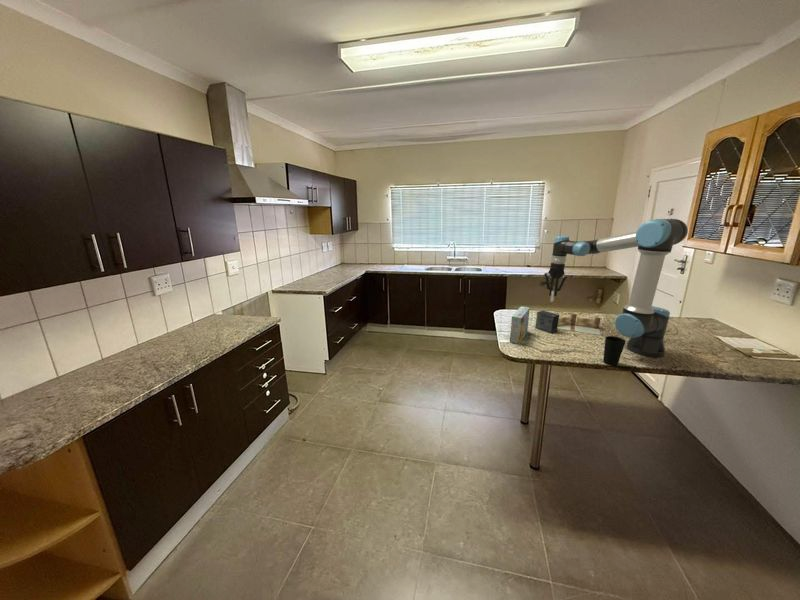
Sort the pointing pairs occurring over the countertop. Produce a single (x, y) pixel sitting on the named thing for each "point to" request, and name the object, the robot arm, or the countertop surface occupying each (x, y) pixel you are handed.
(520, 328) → the snack box
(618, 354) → the cup
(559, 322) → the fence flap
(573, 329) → the card
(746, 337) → the countertop surface
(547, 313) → the small box
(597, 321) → the fence fixed
